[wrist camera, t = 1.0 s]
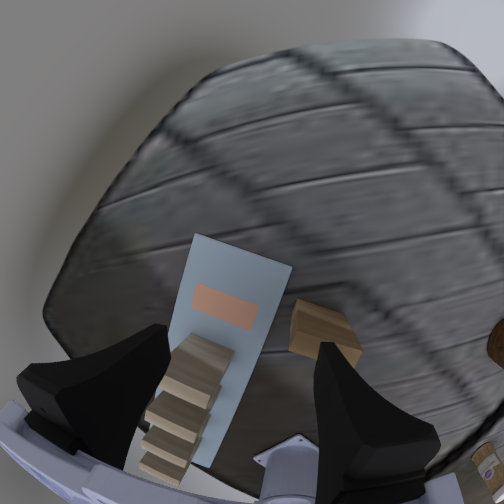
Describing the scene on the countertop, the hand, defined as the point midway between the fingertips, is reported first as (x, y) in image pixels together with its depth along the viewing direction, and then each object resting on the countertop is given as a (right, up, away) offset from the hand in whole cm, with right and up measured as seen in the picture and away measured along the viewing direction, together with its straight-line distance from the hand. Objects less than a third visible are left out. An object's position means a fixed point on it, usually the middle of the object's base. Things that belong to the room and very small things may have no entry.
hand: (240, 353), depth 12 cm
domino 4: (-9, -20, +17) cm, 28 cm away
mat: (-5, -10, +17) cm, 20 cm away
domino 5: (+7, -1, +14) cm, 15 cm away
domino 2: (-5, -10, +16) cm, 20 cm away
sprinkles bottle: (+41, -31, +11) cm, 52 cm away
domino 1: (-4, -6, +15) cm, 17 cm away
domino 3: (-7, -15, +17) cm, 24 cm away
